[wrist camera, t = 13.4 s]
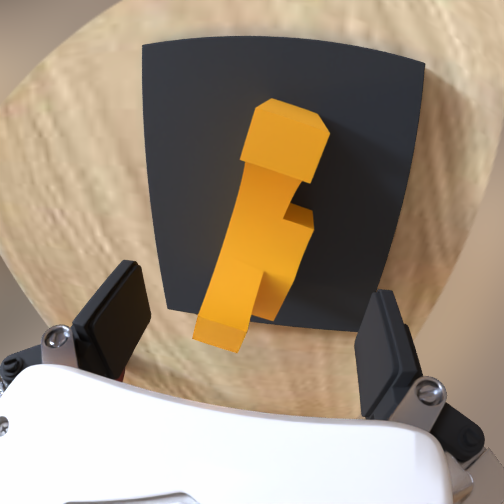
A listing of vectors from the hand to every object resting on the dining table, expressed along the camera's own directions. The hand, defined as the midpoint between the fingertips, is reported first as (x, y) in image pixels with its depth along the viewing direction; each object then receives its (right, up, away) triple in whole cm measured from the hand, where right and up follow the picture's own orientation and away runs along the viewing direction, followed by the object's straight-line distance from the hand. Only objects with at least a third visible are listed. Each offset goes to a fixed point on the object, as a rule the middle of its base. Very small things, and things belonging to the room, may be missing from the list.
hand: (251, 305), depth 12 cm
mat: (+1, +5, +7) cm, 9 cm away
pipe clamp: (+1, +5, +6) cm, 8 cm away
